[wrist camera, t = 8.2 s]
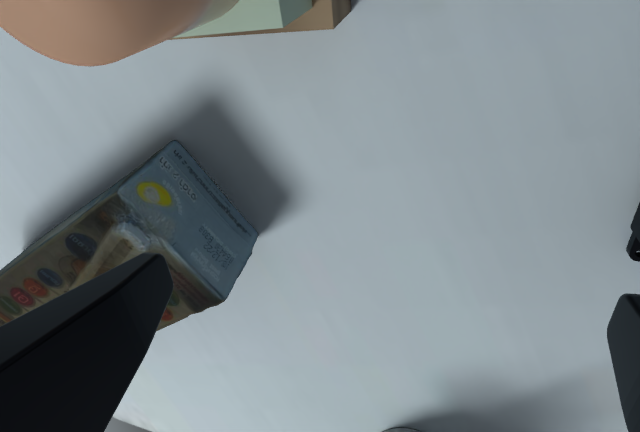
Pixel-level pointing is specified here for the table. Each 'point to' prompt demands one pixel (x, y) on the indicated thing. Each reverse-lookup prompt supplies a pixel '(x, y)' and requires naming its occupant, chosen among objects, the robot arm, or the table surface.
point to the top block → (254, 17)
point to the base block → (304, 19)
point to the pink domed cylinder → (103, 25)
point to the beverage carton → (140, 240)
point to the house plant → (401, 430)
